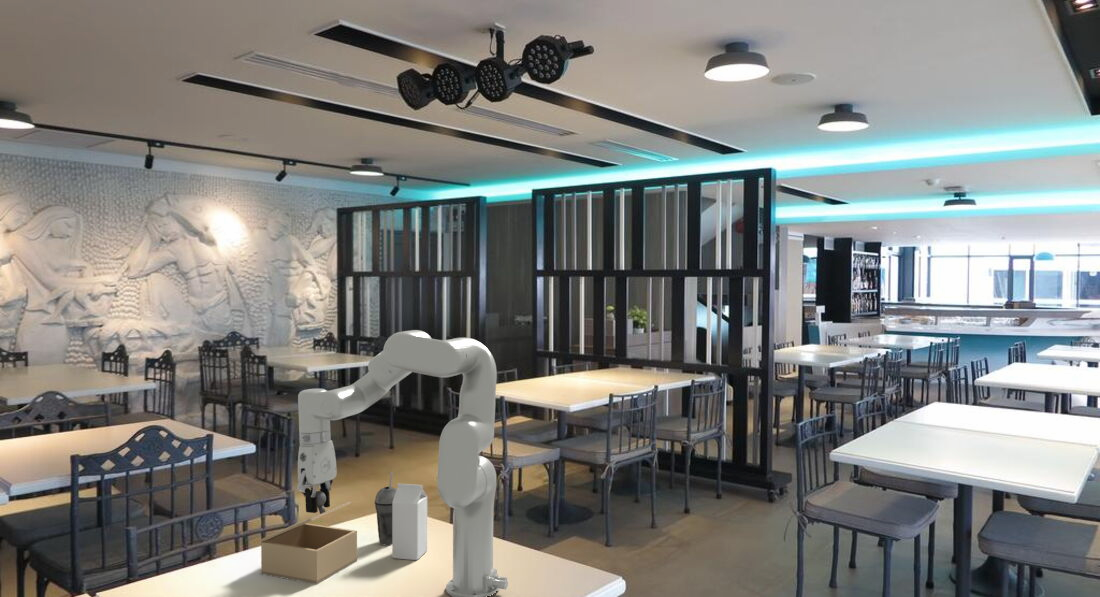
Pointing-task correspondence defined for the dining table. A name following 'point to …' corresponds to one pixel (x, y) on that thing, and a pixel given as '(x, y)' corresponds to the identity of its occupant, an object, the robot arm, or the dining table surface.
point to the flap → (320, 502)
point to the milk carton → (409, 522)
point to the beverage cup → (385, 513)
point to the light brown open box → (309, 553)
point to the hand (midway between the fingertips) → (318, 508)
